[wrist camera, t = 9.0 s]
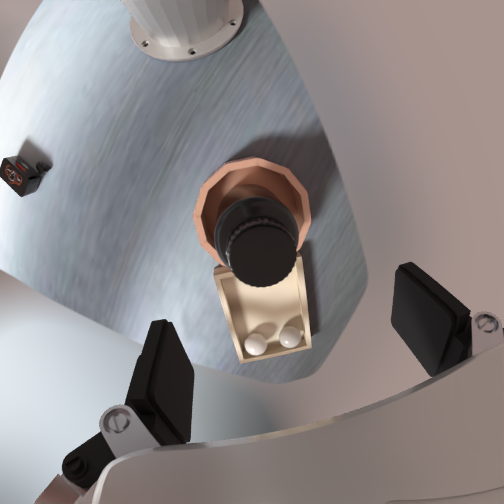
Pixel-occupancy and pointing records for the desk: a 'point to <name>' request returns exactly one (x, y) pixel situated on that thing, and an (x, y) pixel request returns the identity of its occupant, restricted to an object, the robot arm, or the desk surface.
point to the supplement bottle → (256, 236)
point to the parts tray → (264, 310)
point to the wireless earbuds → (21, 175)
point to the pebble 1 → (255, 344)
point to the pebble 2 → (290, 336)
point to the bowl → (249, 173)
